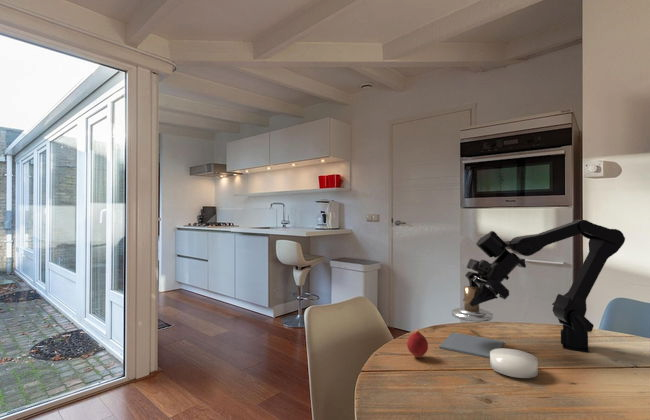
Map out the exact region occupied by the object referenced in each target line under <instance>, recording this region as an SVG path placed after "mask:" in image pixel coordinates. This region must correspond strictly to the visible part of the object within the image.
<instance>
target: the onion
mask: <svg viewBox="0 0 650 420" xmlns="http://www.w3.org/2000/svg"><path fill="white" fill-rule="evenodd" d="M406 348H407V349H408V351H409V352H410V354H412V356H414V358H417V359H419V358H421V357H422V356H424V355H425V354H426V353H427V352H428V350H429V343H428V341H427V339H426V337H425V336H424V335H423V334H422V333H421V332H419V330H418V329H414V333H412V334H410V336H409V337H408V338H407V342H406Z"/></svg>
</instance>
